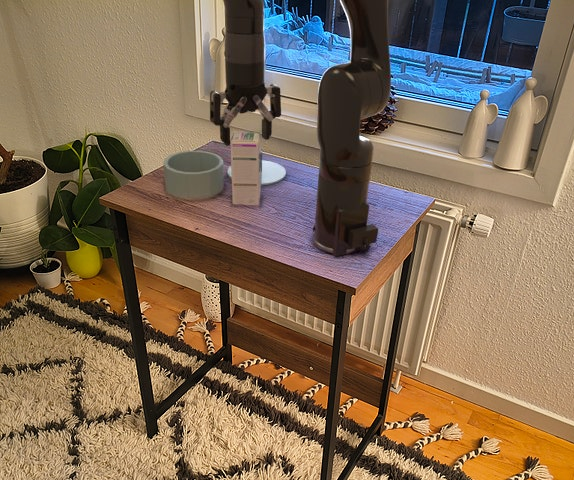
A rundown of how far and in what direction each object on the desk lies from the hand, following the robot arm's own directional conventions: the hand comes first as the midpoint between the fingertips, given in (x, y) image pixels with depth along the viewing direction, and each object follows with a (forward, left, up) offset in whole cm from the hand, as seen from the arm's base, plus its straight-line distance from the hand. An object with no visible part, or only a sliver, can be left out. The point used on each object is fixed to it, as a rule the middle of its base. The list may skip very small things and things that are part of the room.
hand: (246, 141), depth 117 cm
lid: (+11, -7, -13) cm, 19 cm away
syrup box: (0, 0, -14) cm, 14 cm away
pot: (+10, +8, -13) cm, 19 cm away
